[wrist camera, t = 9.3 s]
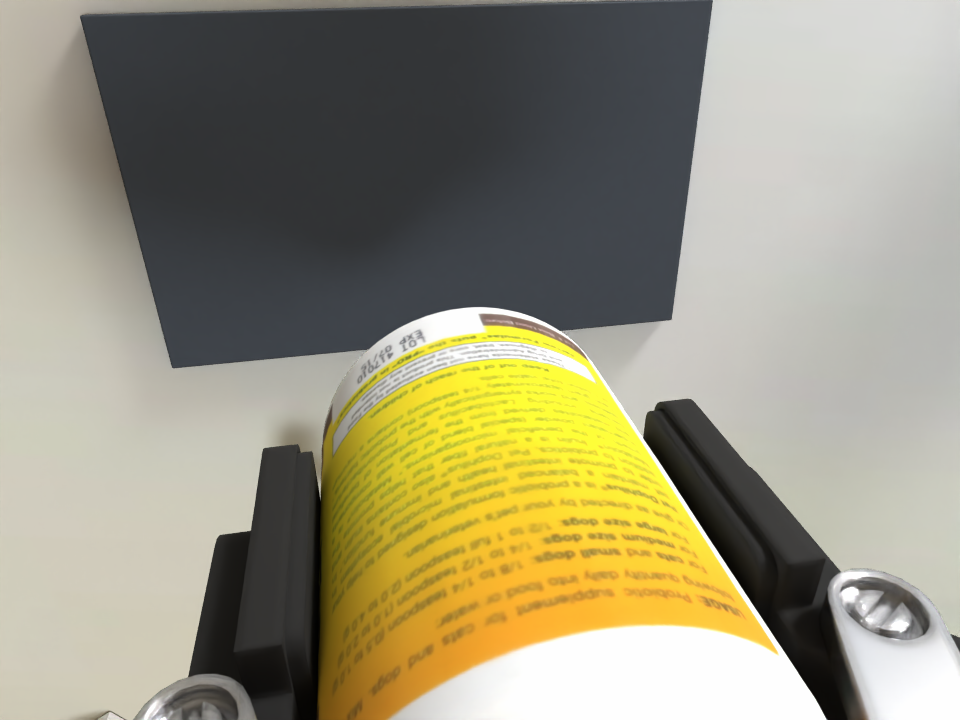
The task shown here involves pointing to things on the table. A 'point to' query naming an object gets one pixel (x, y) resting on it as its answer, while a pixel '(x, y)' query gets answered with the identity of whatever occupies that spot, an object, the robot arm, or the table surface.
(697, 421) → the robot arm
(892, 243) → the table surface
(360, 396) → the supplement bottle
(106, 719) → the white paper bag
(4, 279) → the table surface
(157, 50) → the mat
